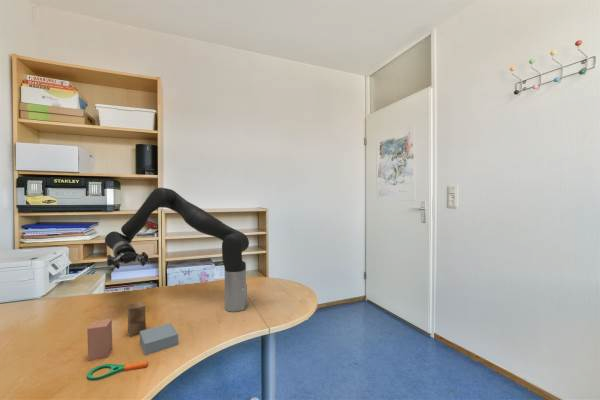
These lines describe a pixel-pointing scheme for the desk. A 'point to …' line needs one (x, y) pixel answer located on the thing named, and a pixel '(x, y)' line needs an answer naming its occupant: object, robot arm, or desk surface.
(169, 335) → the slate base block
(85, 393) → the desk surface
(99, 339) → the brick-red block
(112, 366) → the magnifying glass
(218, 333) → the desk surface
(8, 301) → the desk surface
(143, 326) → the walnut block
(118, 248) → the robot arm
